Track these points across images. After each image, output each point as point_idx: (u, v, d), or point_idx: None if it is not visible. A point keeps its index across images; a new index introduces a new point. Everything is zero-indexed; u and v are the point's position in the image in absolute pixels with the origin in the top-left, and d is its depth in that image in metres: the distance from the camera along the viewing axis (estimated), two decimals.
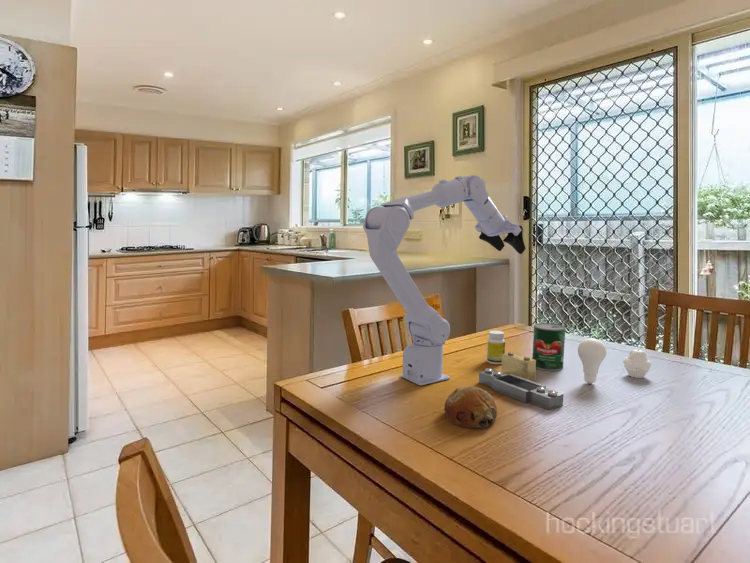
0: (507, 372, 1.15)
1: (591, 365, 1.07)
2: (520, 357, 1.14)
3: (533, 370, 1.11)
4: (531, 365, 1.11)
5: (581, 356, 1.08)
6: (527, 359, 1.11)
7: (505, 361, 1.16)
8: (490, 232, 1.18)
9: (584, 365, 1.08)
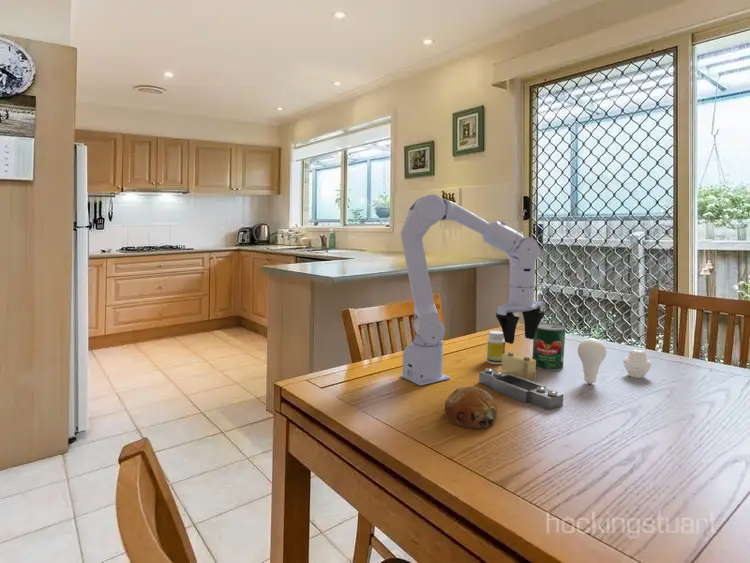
0: (507, 372, 1.15)
1: (591, 366, 1.07)
2: (520, 357, 1.14)
3: (533, 370, 1.11)
4: (531, 365, 1.11)
5: (581, 356, 1.08)
6: (527, 359, 1.11)
7: (505, 361, 1.16)
8: None
9: (584, 365, 1.08)
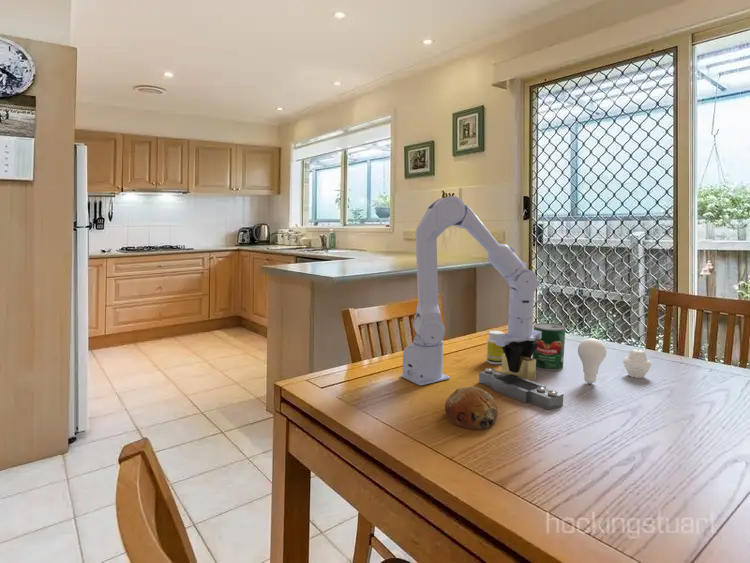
0: (507, 372, 1.15)
1: (591, 365, 1.07)
2: (520, 357, 1.14)
3: (533, 370, 1.11)
4: (531, 364, 1.11)
5: (581, 356, 1.08)
6: (527, 359, 1.11)
7: (505, 361, 1.16)
8: None
9: (584, 365, 1.08)
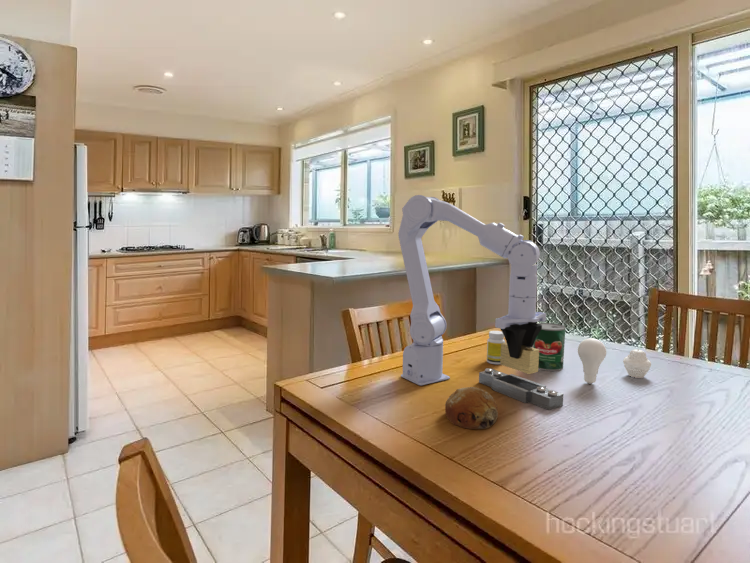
0: (507, 363, 1.03)
1: (591, 366, 1.07)
2: (522, 347, 1.01)
3: (536, 361, 0.99)
4: (533, 355, 0.99)
5: (581, 356, 1.08)
6: (529, 348, 0.99)
7: (505, 351, 1.04)
8: None
9: (584, 365, 1.08)
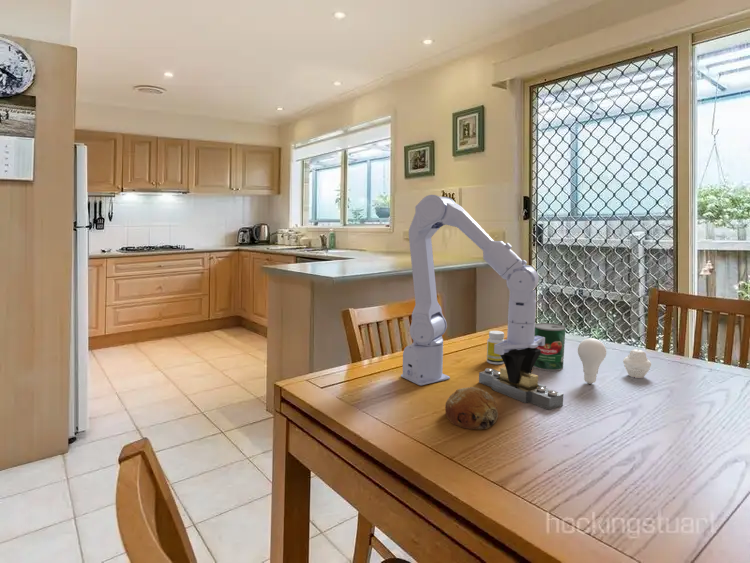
0: None
1: (591, 366, 1.07)
2: (521, 372, 1.02)
3: (535, 387, 1.00)
4: (532, 381, 0.99)
5: (581, 356, 1.08)
6: (528, 375, 1.00)
7: (504, 376, 1.04)
8: None
9: (584, 365, 1.08)
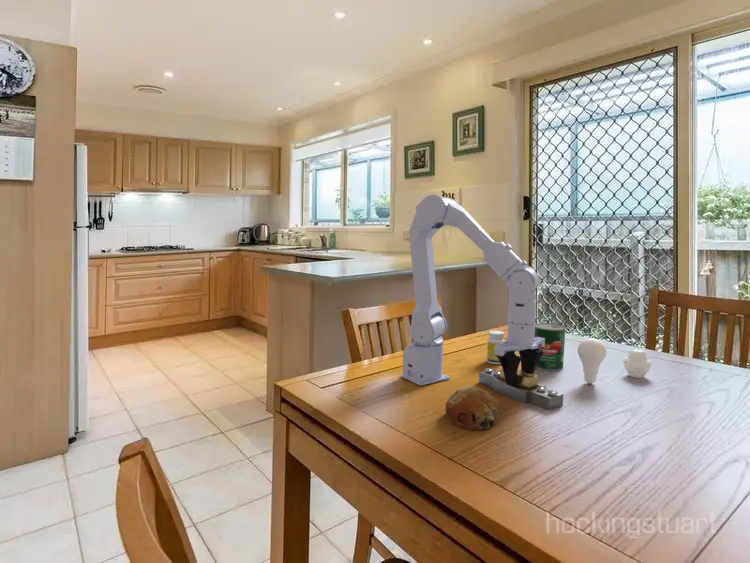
0: None
1: (591, 366, 1.07)
2: (521, 372, 1.02)
3: (535, 387, 1.00)
4: (532, 382, 0.99)
5: (581, 356, 1.08)
6: (528, 375, 1.00)
7: (504, 376, 1.04)
8: None
9: (584, 365, 1.08)
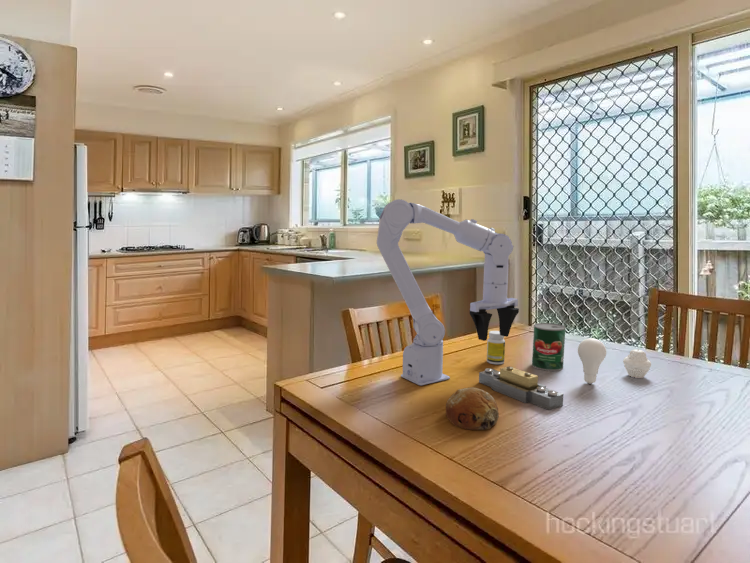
0: None
1: (591, 365, 1.07)
2: (521, 372, 1.02)
3: (535, 387, 1.00)
4: (532, 382, 0.99)
5: (581, 356, 1.08)
6: (528, 375, 1.00)
7: (504, 376, 1.04)
8: None
9: (584, 365, 1.08)
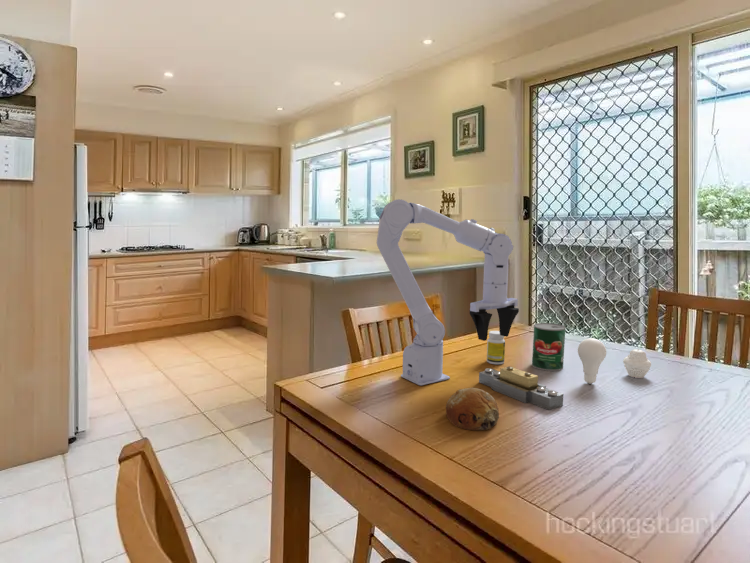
0: None
1: (591, 366, 1.07)
2: (521, 372, 1.02)
3: (535, 387, 1.00)
4: (532, 382, 0.99)
5: (581, 356, 1.08)
6: (528, 375, 1.00)
7: (504, 376, 1.04)
8: None
9: (584, 365, 1.08)
